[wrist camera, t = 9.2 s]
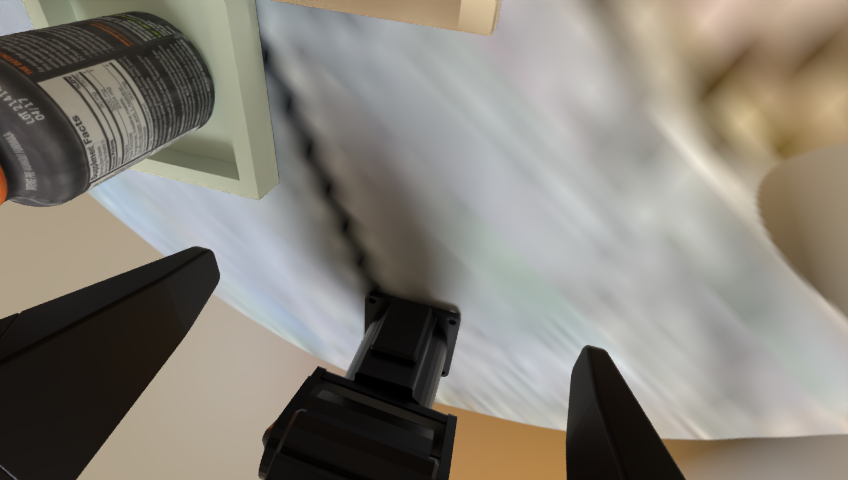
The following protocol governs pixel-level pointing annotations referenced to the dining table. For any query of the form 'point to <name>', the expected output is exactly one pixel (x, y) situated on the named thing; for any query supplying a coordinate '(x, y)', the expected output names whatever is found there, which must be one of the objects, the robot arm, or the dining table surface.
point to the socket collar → (421, 12)
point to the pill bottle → (94, 102)
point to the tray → (233, 86)
